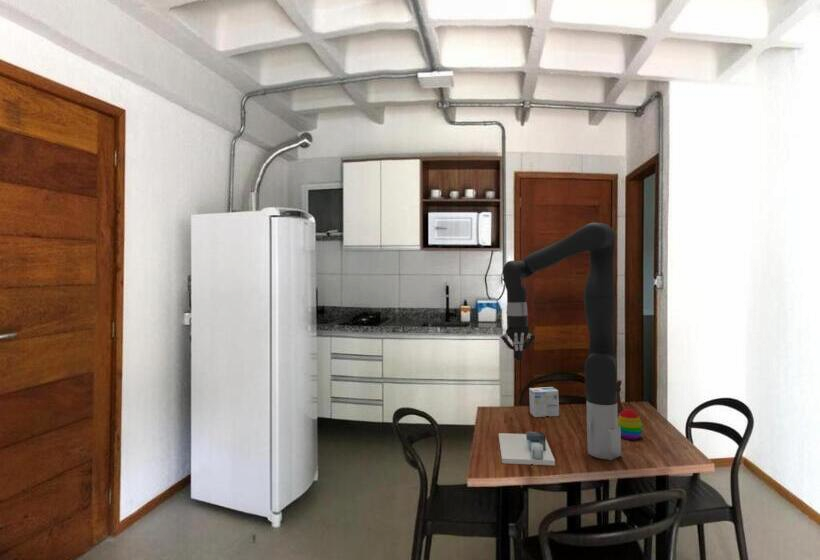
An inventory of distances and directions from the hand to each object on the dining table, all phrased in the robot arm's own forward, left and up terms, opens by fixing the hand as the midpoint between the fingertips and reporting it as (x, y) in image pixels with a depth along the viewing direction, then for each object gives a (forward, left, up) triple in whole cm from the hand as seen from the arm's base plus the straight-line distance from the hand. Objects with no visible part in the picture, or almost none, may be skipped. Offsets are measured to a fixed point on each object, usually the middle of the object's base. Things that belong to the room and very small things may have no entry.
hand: (518, 360), depth 163 cm
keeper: (-16, +11, -26) cm, 32 cm away
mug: (-8, -45, -27) cm, 53 cm away
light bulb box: (+7, -24, -27) cm, 37 cm away
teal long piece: (-16, +12, -25) cm, 32 cm away
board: (-12, +12, -27) cm, 32 cm away
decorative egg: (-28, -26, -27) cm, 47 cm away
